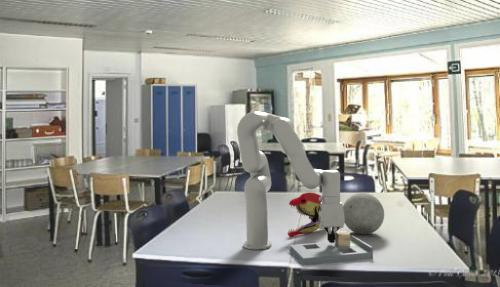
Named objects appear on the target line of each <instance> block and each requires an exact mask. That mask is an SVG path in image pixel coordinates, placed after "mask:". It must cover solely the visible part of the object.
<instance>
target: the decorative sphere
mask: <svg viewBox="0 0 500 287" xmlns="http://www.w3.org/2000/svg"><path fill="white" fill-rule="evenodd" d="M343 210H344V221H345V222H344V225H345V226H346V227H347V228H348V230H350V231H351V232H352V233H355V234H357V235H369V234H372V233H375V232H376V231H378V230H379V229H380V228H381V227H382V225H383V223H384V220H385V210H384V207H383V205H382V203H381V201H380V200H379V199H378V198H377V197H375V195H373V194H370V193H366V192H359V193H357V192H356V193H355V194H352V195H351V196H349V197H348V198H347V199H346V200H345V202H344V203H343Z"/></svg>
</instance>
